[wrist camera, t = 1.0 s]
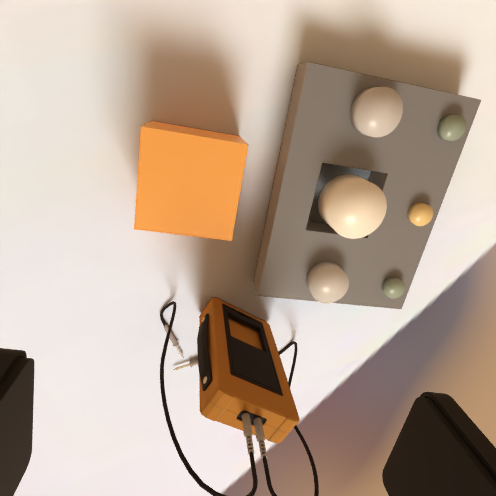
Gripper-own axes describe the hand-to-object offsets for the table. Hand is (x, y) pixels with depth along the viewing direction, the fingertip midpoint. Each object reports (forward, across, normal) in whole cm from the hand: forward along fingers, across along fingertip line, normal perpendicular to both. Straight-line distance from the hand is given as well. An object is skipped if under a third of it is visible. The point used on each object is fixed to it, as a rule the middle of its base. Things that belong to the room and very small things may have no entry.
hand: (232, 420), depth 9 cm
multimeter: (+27, -4, +16) cm, 32 cm away
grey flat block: (+26, -13, -2) cm, 29 cm away
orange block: (+26, +2, -2) cm, 26 cm away
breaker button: (+24, -11, -2) cm, 26 cm away
